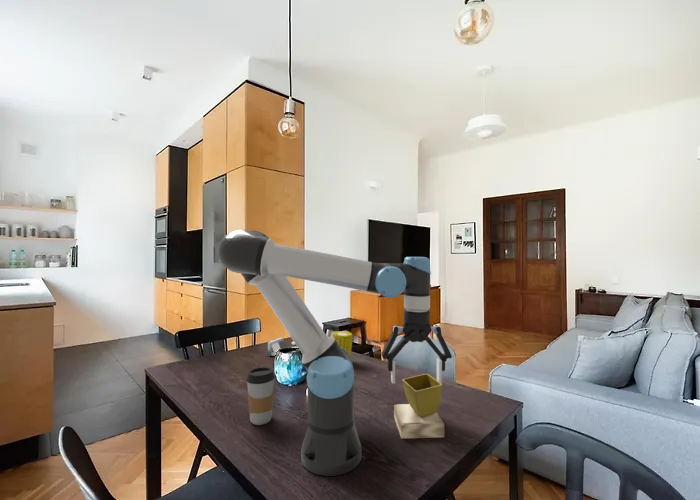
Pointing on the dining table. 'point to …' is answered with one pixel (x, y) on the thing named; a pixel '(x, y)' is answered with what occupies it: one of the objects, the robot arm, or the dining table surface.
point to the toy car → (276, 346)
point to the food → (344, 340)
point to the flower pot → (423, 394)
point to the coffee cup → (260, 394)
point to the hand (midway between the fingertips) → (416, 381)
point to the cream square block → (417, 423)
